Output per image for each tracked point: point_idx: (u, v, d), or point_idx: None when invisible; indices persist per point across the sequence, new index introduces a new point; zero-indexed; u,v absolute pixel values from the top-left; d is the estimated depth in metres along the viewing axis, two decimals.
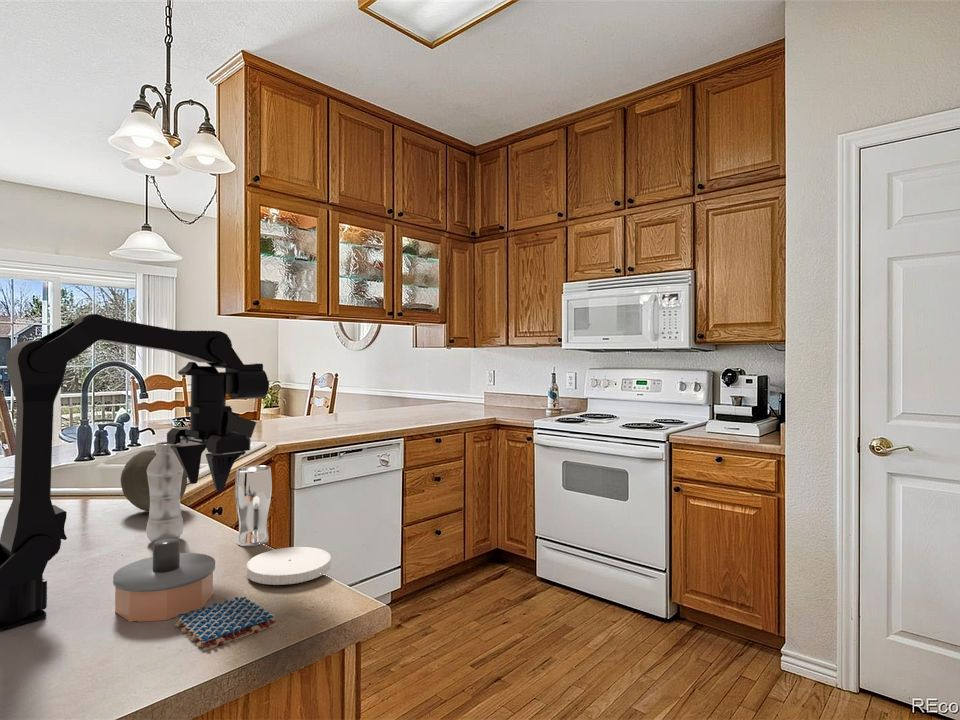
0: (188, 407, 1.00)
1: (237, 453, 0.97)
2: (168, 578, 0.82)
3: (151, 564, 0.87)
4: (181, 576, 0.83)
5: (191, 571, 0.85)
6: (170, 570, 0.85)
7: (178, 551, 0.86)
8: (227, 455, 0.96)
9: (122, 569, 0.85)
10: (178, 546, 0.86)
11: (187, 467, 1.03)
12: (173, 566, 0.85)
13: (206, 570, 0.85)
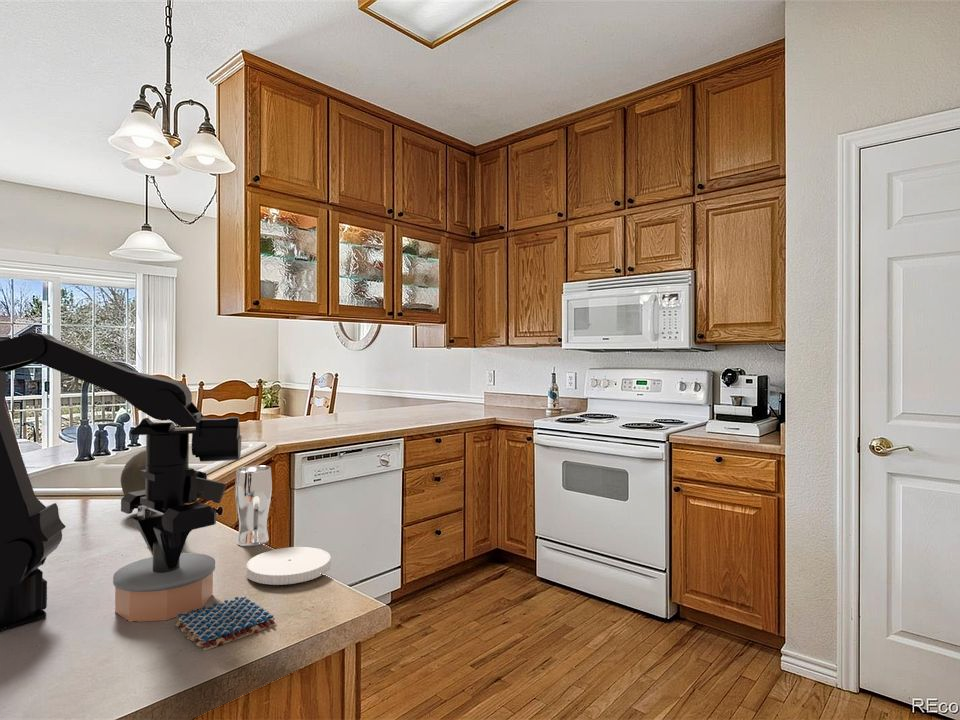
0: (143, 472, 0.84)
1: None
2: (168, 578, 0.82)
3: (151, 564, 0.87)
4: (181, 576, 0.83)
5: (191, 571, 0.85)
6: (170, 570, 0.85)
7: None
8: None
9: (122, 569, 0.85)
10: None
11: (152, 543, 0.86)
12: None
13: (206, 570, 0.85)
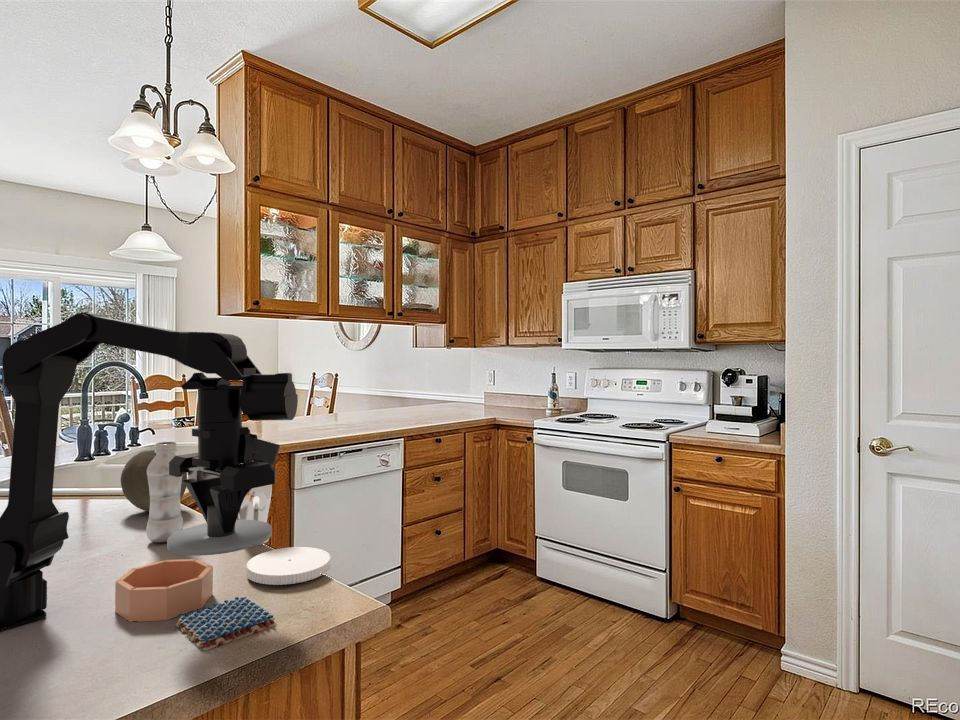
0: (195, 430, 0.79)
1: None
2: (227, 542, 0.76)
3: (204, 530, 0.82)
4: (240, 540, 0.77)
5: (249, 535, 0.79)
6: (227, 535, 0.79)
7: None
8: None
9: (175, 535, 0.79)
10: None
11: (205, 507, 0.80)
12: None
13: (265, 534, 0.80)
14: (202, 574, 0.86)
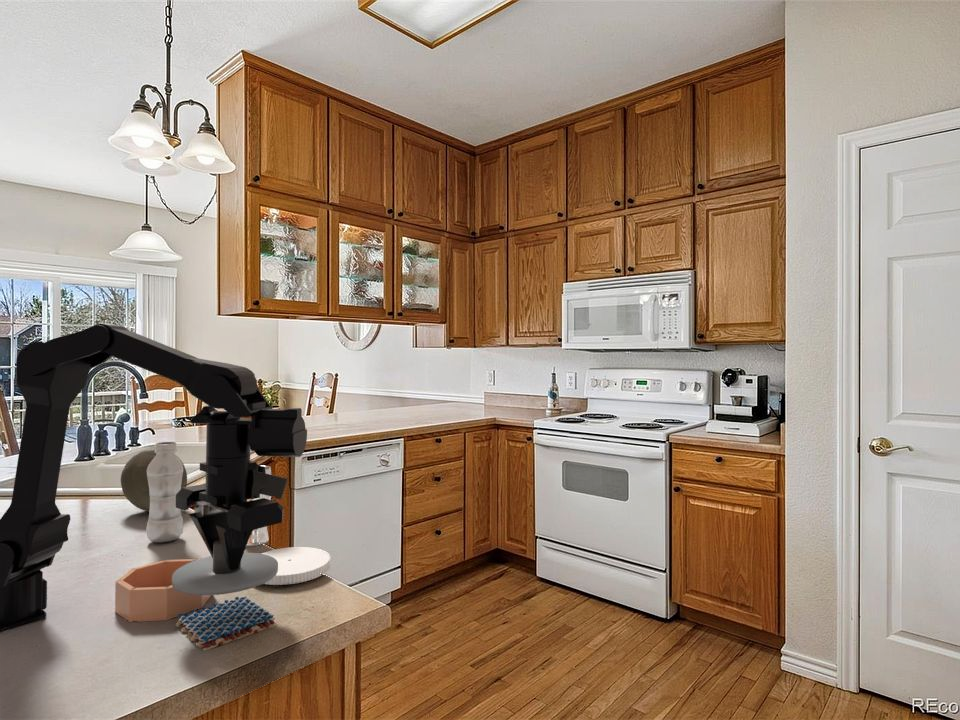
0: (203, 465, 0.78)
1: None
2: (232, 580, 0.75)
3: (210, 565, 0.81)
4: (246, 578, 0.76)
5: (255, 572, 0.78)
6: (232, 572, 0.78)
7: None
8: None
9: (180, 570, 0.78)
10: None
11: (211, 543, 0.79)
12: None
13: (271, 571, 0.78)
14: None
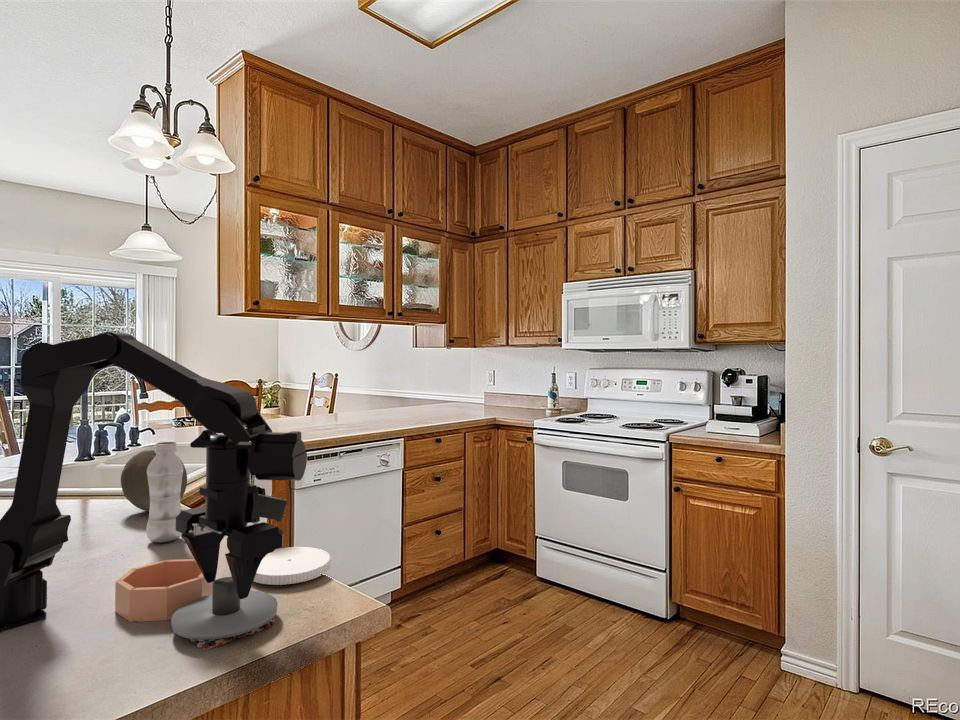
0: (203, 489, 0.78)
1: None
2: (232, 623, 0.75)
3: (209, 605, 0.81)
4: (246, 621, 0.76)
5: (254, 614, 0.78)
6: (232, 613, 0.78)
7: None
8: (253, 555, 0.74)
9: (179, 612, 0.78)
10: None
11: (202, 562, 0.81)
12: (234, 608, 0.78)
13: (270, 612, 0.78)
14: (202, 574, 0.86)
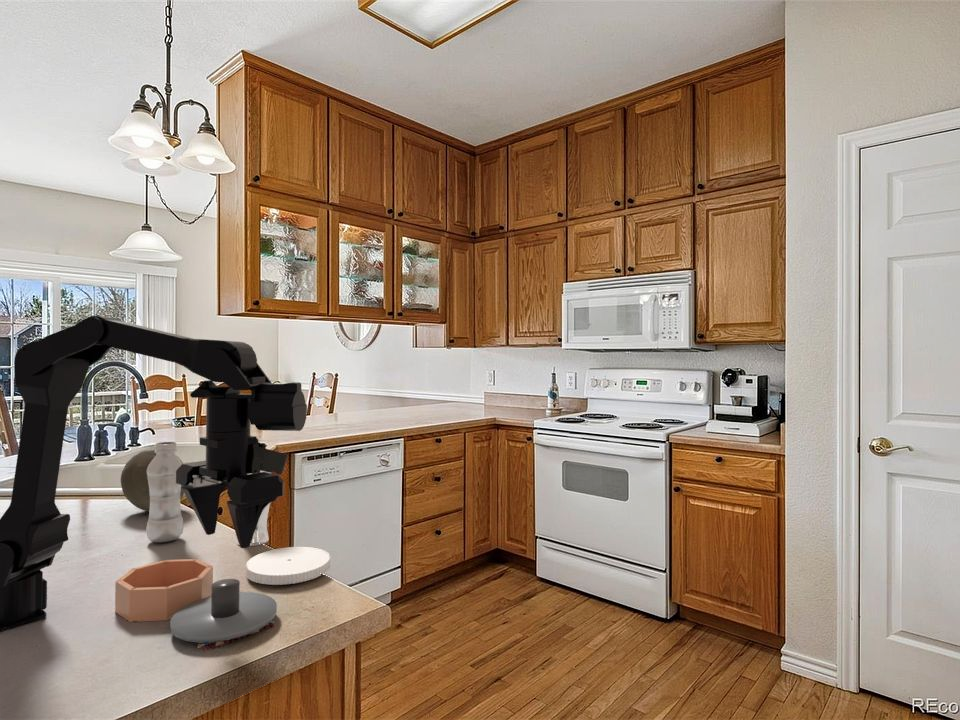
0: (203, 439, 0.78)
1: (267, 499, 0.75)
2: (231, 625, 0.75)
3: (208, 607, 0.80)
4: (245, 623, 0.76)
5: (254, 616, 0.78)
6: (231, 615, 0.78)
7: (238, 593, 0.79)
8: (255, 503, 0.74)
9: (178, 614, 0.78)
10: (238, 588, 0.79)
11: (202, 514, 0.81)
12: (234, 610, 0.78)
13: (270, 614, 0.79)
14: (202, 574, 0.86)
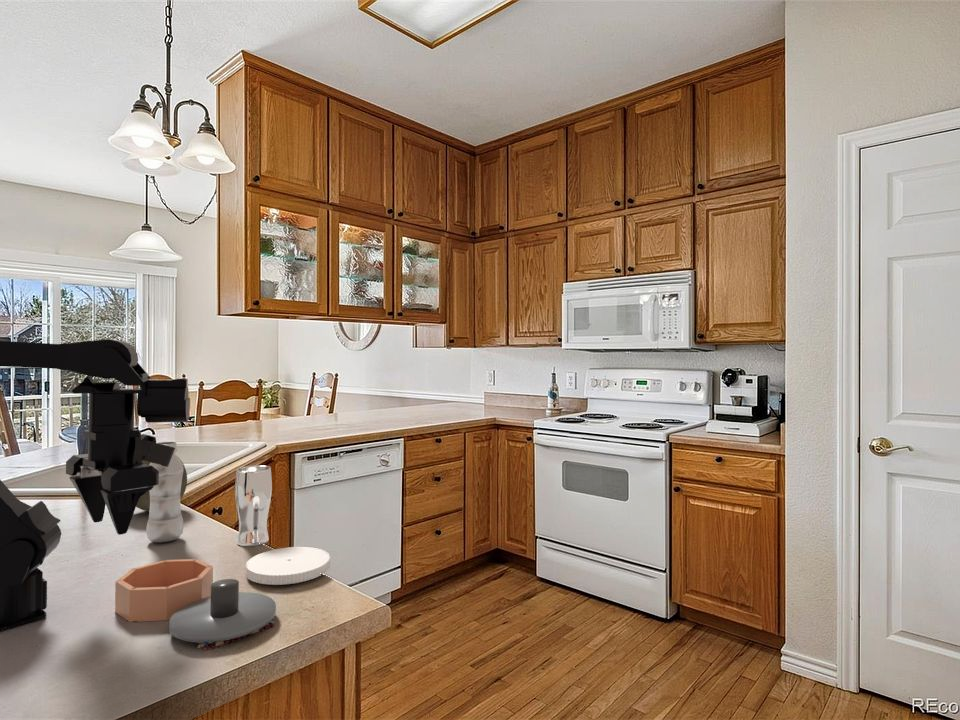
0: (86, 432, 0.83)
1: (141, 489, 0.80)
2: (232, 625, 0.75)
3: (206, 608, 0.80)
4: (246, 622, 0.76)
5: (254, 615, 0.78)
6: (231, 615, 0.78)
7: (238, 593, 0.79)
8: (127, 492, 0.79)
9: (176, 615, 0.78)
10: (238, 588, 0.79)
11: (89, 503, 0.86)
12: (233, 610, 0.78)
13: (270, 613, 0.79)
14: (202, 574, 0.86)
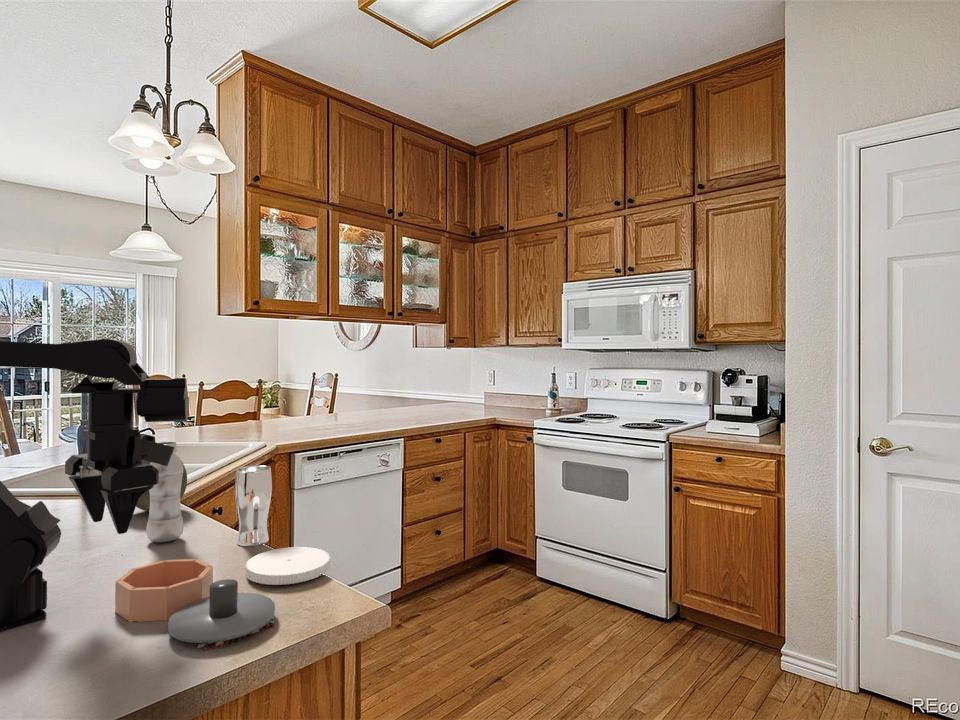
0: (85, 432, 0.83)
1: (141, 488, 0.80)
2: (233, 625, 0.75)
3: (204, 609, 0.80)
4: (247, 622, 0.76)
5: (254, 615, 0.78)
6: (230, 615, 0.78)
7: (237, 593, 0.79)
8: (127, 491, 0.79)
9: (175, 617, 0.77)
10: (237, 588, 0.79)
11: (88, 502, 0.86)
12: (233, 610, 0.78)
13: (270, 612, 0.79)
14: (202, 574, 0.86)
